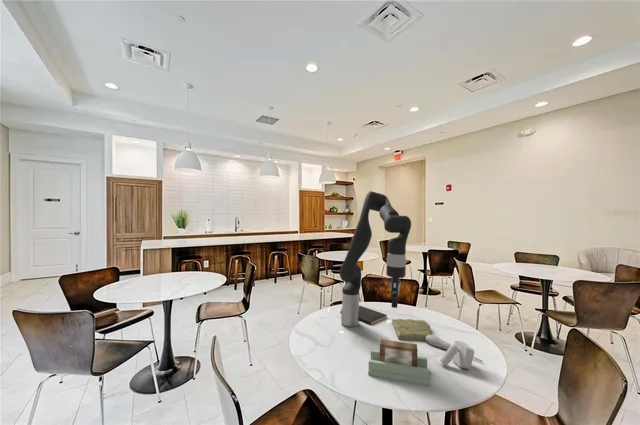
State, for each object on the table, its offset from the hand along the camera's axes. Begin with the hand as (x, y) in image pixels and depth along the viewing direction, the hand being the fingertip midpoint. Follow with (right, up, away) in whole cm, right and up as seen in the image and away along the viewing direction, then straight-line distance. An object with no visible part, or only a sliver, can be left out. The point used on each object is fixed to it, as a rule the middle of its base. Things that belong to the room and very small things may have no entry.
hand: (394, 303), depth 112 cm
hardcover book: (-5, -25, +53) cm, 59 cm away
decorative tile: (+18, -26, +31) cm, 44 cm away
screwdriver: (+29, -26, +11) cm, 40 cm away
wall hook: (+24, -25, 0) cm, 35 cm away
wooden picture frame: (0, -24, -4) cm, 24 cm away
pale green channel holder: (0, -25, -4) cm, 25 cm away
